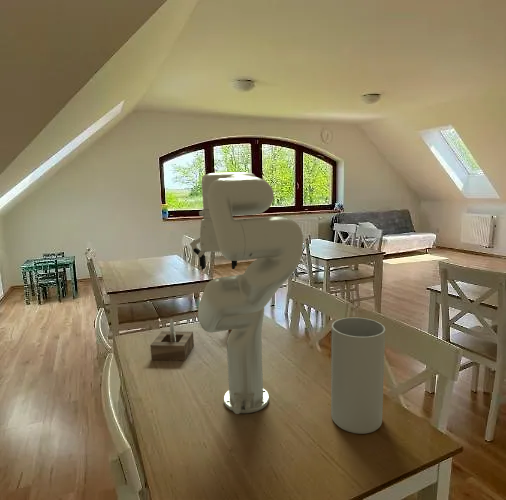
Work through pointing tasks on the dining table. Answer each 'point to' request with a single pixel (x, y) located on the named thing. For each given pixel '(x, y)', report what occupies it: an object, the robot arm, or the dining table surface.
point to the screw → (172, 331)
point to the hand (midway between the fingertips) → (218, 268)
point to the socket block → (172, 346)
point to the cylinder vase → (357, 374)
